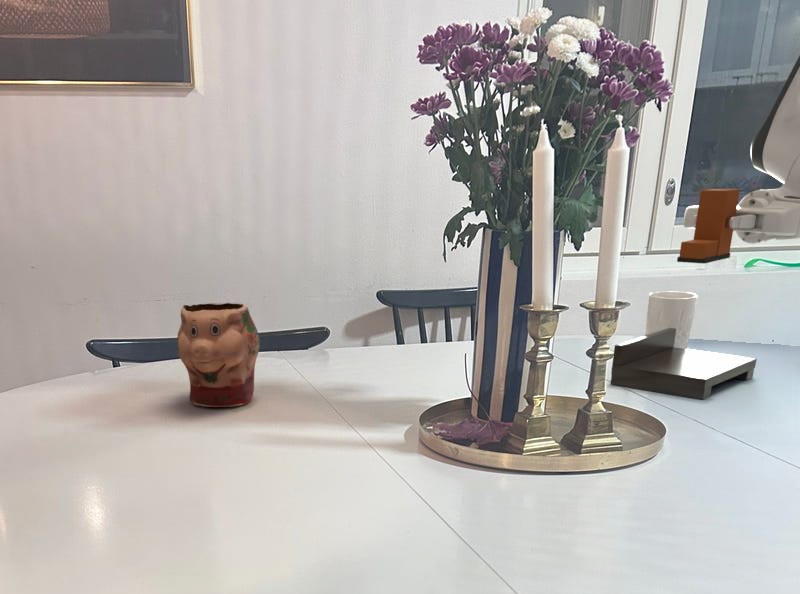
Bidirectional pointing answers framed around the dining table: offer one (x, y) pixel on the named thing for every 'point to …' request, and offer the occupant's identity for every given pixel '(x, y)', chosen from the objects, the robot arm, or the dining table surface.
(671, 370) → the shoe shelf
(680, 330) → the white cup
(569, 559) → the dining table surface
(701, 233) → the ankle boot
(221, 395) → the decorative planter
